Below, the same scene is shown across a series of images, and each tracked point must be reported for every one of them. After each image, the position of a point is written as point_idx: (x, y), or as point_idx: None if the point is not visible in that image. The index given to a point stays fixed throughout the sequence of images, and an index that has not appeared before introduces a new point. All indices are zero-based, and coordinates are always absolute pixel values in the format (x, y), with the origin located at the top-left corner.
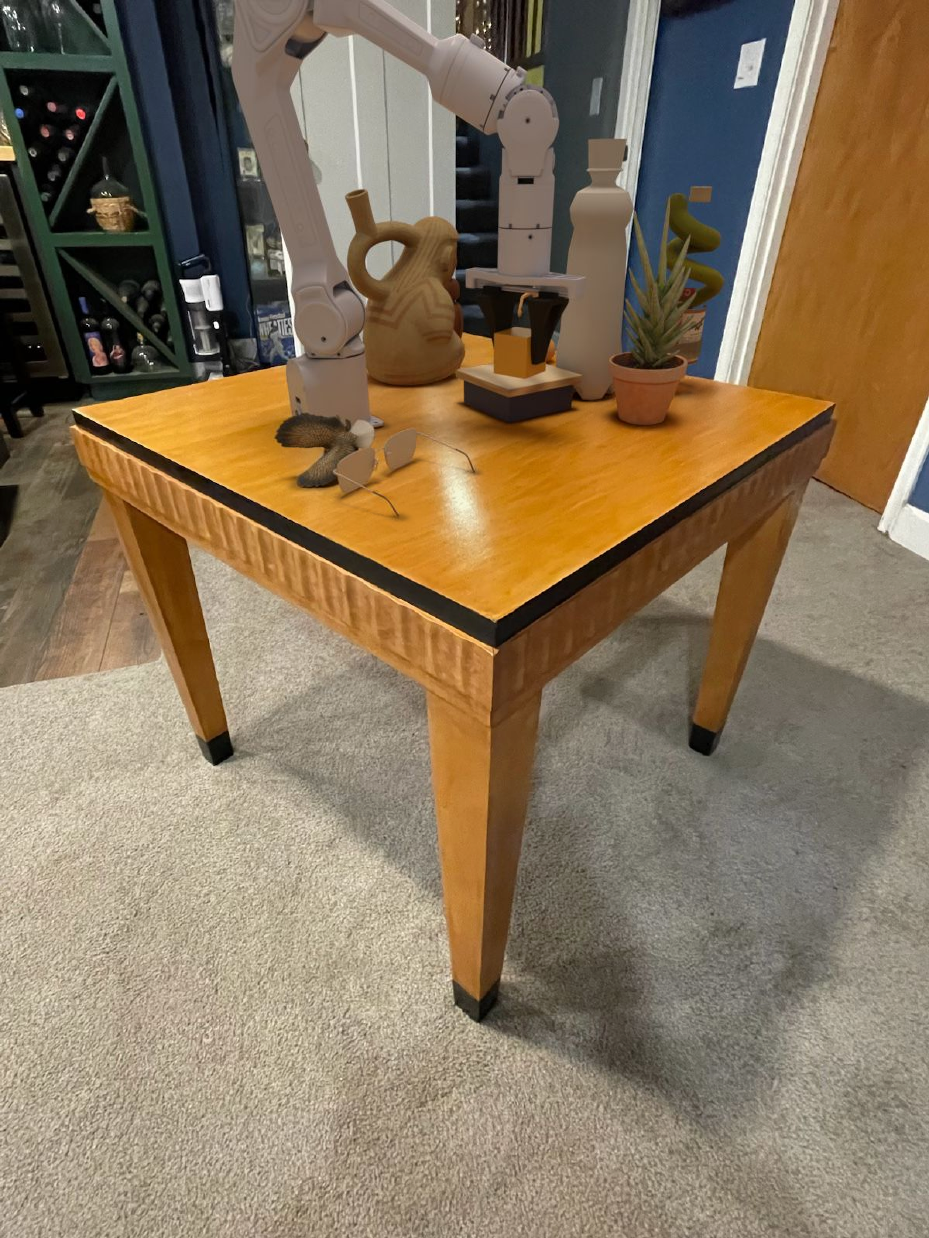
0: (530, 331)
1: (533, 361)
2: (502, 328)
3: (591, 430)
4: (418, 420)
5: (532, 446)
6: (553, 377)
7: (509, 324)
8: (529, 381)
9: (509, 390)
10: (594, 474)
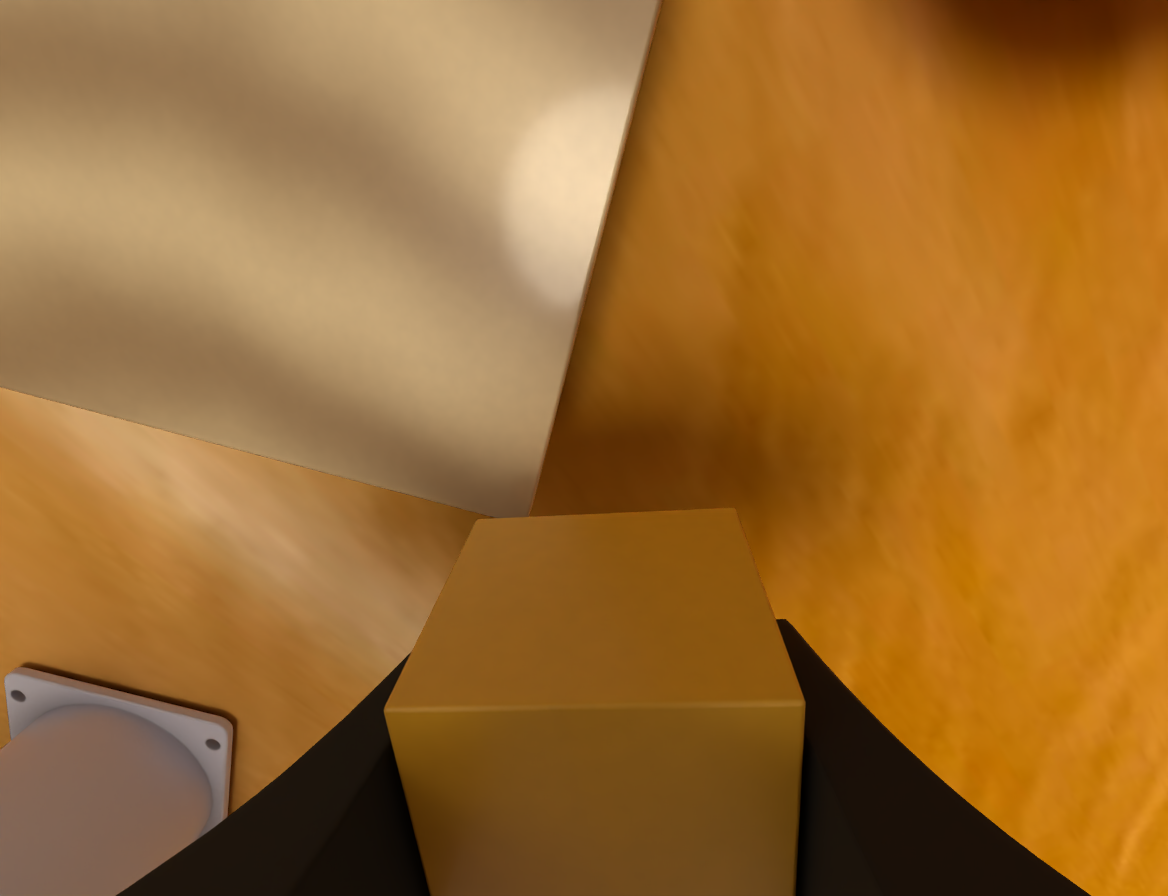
0: (657, 798)
1: None
2: (406, 889)
3: (903, 257)
4: (246, 604)
5: (776, 578)
6: (559, 109)
7: (371, 814)
8: (499, 314)
9: None
10: (1103, 664)
